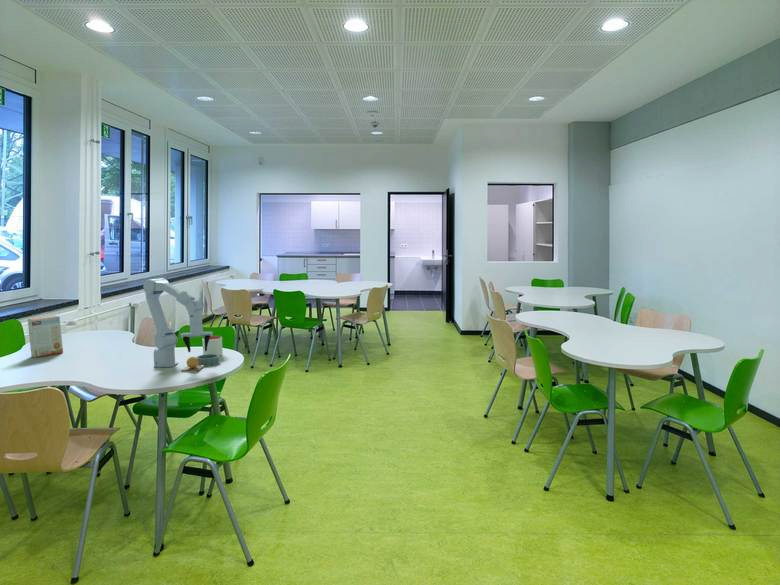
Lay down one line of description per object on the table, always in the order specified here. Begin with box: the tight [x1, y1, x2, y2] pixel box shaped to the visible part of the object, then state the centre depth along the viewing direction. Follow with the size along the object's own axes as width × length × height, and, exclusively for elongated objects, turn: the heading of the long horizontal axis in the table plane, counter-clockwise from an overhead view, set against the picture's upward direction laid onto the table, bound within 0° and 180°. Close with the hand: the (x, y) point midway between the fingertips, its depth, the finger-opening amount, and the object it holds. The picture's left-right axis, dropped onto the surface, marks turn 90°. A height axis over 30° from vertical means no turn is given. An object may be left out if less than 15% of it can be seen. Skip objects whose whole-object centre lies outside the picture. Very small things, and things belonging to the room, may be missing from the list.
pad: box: [181, 365, 205, 372], centre depth 260 cm, size 8×8×1 cm
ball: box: [186, 356, 199, 368], centre depth 259 cm, size 6×6×6 cm
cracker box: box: [27, 315, 64, 359], centre depth 291 cm, size 14×6×21 cm, turn 146°
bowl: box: [195, 354, 220, 366], centre depth 271 cm, size 11×11×4 cm
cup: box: [201, 335, 223, 357], centre depth 287 cm, size 10×10×10 cm
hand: (197, 351), depth 260 cm, fingers open, 7 cm apart
